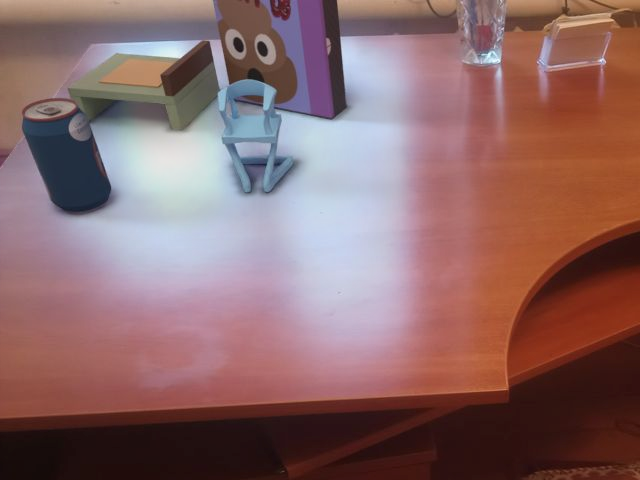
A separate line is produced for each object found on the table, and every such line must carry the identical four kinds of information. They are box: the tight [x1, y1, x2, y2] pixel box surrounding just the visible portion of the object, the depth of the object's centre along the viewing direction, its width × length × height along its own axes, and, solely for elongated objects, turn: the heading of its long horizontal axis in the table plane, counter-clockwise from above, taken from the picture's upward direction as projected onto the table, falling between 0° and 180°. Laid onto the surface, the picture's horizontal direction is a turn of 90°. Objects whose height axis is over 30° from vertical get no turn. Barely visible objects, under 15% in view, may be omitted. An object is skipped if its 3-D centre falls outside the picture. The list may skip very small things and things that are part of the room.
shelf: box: [66, 39, 221, 131], centre depth 108 cm, size 16×14×8 cm
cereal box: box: [212, 0, 347, 120], centre depth 104 cm, size 17×5×24 cm, turn 69°
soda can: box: [21, 97, 112, 215], centre depth 85 cm, size 7×7×12 cm
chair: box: [217, 79, 294, 193], centre depth 91 cm, size 8×8×12 cm
